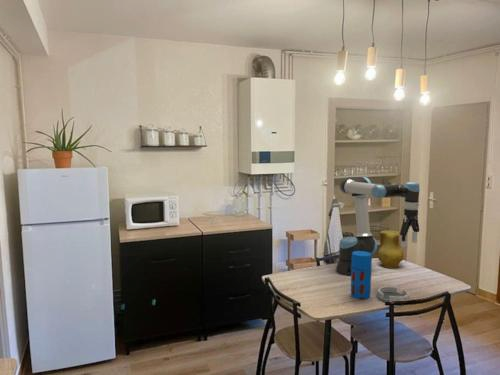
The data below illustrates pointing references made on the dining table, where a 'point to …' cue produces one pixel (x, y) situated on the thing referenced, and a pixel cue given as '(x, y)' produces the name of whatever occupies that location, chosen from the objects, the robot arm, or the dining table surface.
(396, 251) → the pitcher
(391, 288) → the bayonet base
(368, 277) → the thermos
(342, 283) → the dining table surface
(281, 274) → the dining table surface
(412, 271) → the dining table surface
